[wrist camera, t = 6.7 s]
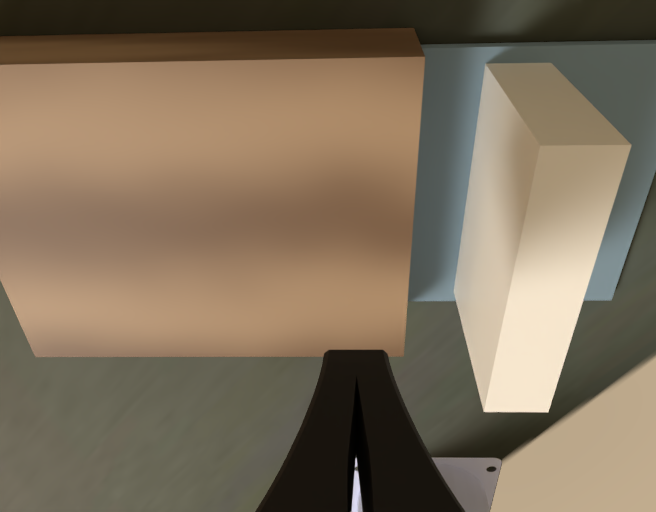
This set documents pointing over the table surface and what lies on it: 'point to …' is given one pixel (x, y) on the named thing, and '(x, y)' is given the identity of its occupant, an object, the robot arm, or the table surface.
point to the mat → (459, 136)
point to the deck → (209, 191)
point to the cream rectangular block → (531, 229)
